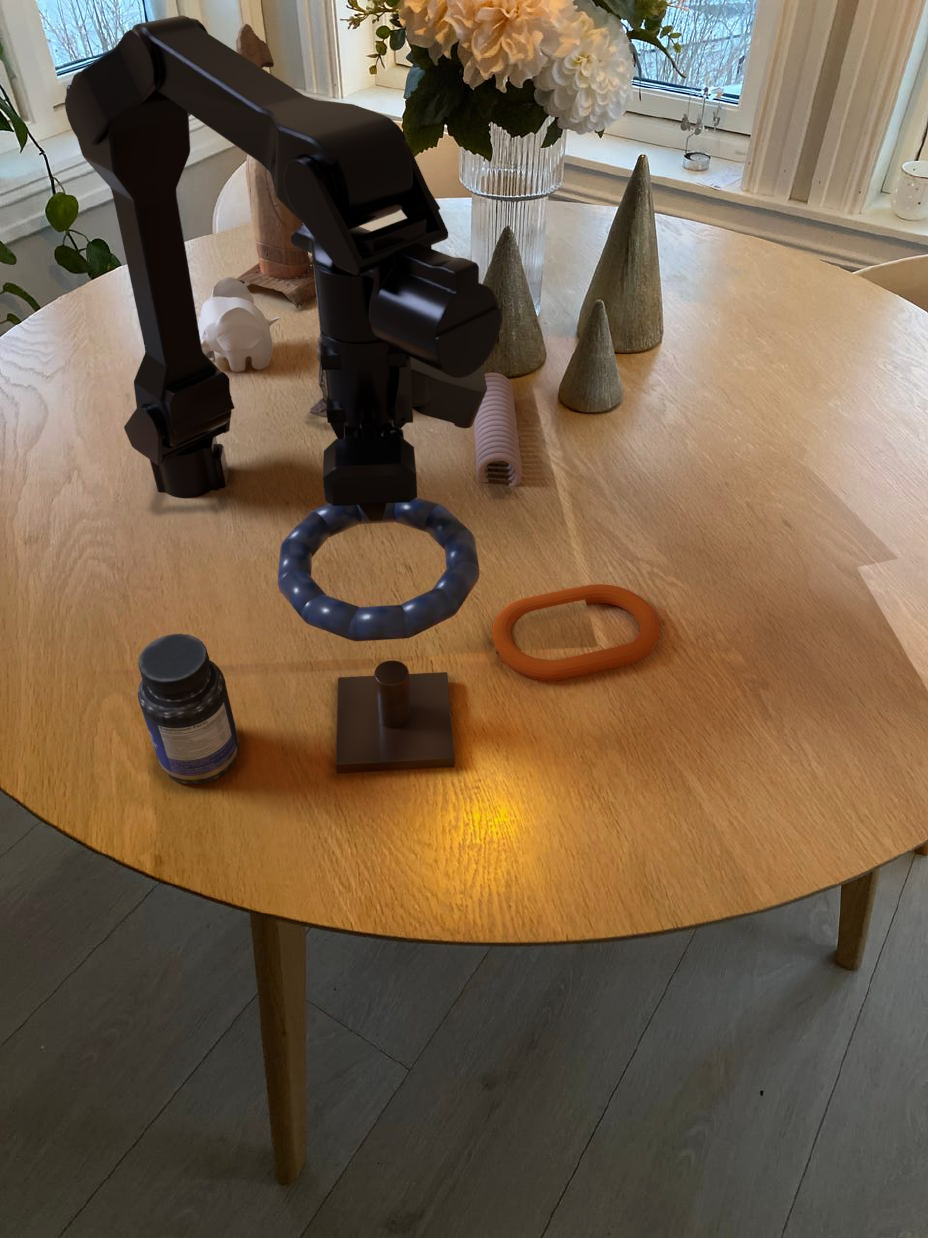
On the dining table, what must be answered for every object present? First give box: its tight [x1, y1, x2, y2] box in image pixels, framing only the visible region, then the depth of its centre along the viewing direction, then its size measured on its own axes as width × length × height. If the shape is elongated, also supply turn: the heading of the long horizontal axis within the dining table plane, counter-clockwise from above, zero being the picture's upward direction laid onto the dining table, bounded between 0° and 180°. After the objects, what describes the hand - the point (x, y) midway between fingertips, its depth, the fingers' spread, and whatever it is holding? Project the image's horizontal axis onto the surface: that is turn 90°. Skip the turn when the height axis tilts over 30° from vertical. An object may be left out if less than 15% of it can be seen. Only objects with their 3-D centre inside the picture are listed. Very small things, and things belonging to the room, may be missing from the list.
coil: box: [473, 371, 523, 488], centre depth 104 cm, size 5×5×18 cm
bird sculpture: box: [235, 23, 316, 310], centre depth 123 cm, size 11×12×32 cm
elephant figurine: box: [197, 276, 281, 373], centre depth 116 cm, size 10×12×9 cm
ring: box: [277, 496, 481, 642], centre depth 72 cm, size 15×15×2 cm
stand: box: [335, 659, 456, 775], centre depth 74 cm, size 9×9×6 cm
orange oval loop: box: [491, 583, 661, 681], centre depth 83 cm, size 10×2×15 cm
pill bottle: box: [137, 633, 240, 785], centre depth 70 cm, size 6×6×11 cm
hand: (375, 509), depth 76 cm, fingers closed on ring, 2 cm apart
